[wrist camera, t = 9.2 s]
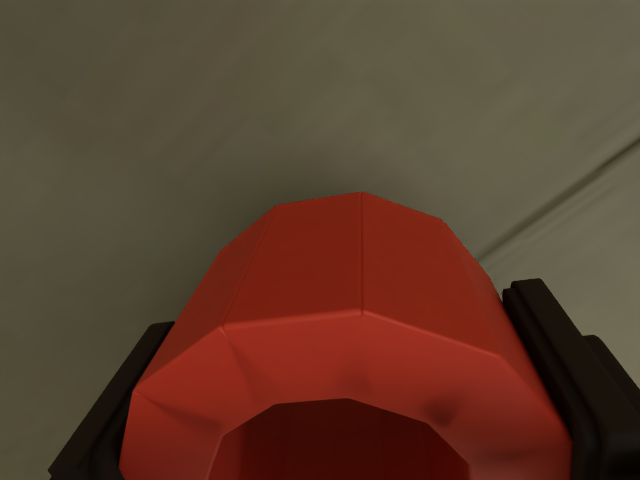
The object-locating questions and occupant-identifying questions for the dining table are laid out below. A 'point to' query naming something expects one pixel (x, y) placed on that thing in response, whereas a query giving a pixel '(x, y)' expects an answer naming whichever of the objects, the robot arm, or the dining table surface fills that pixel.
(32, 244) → the dining table surface
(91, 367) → the dining table surface
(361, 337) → the red ring
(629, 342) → the dining table surface
